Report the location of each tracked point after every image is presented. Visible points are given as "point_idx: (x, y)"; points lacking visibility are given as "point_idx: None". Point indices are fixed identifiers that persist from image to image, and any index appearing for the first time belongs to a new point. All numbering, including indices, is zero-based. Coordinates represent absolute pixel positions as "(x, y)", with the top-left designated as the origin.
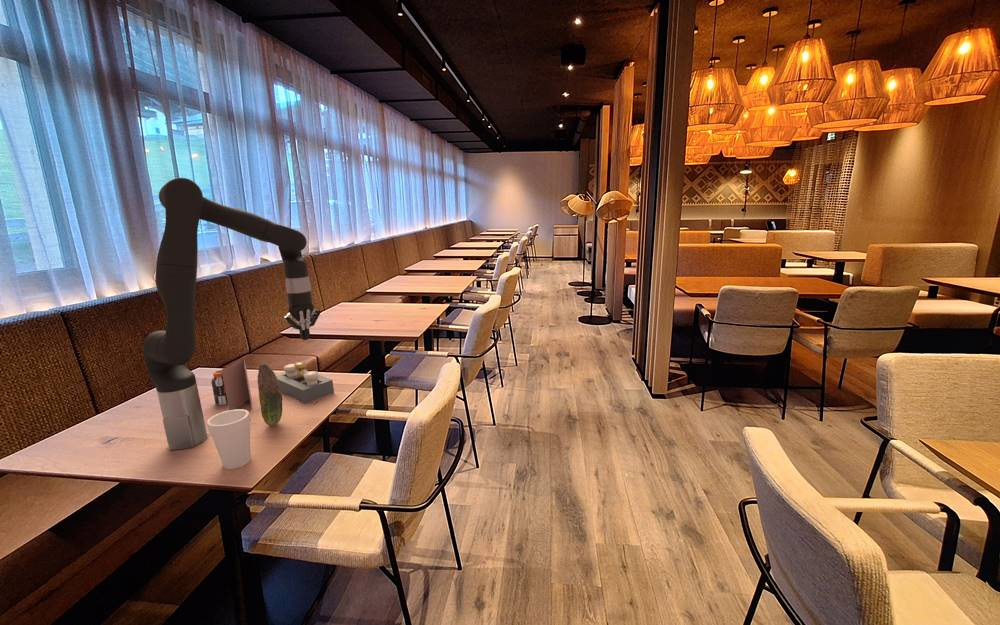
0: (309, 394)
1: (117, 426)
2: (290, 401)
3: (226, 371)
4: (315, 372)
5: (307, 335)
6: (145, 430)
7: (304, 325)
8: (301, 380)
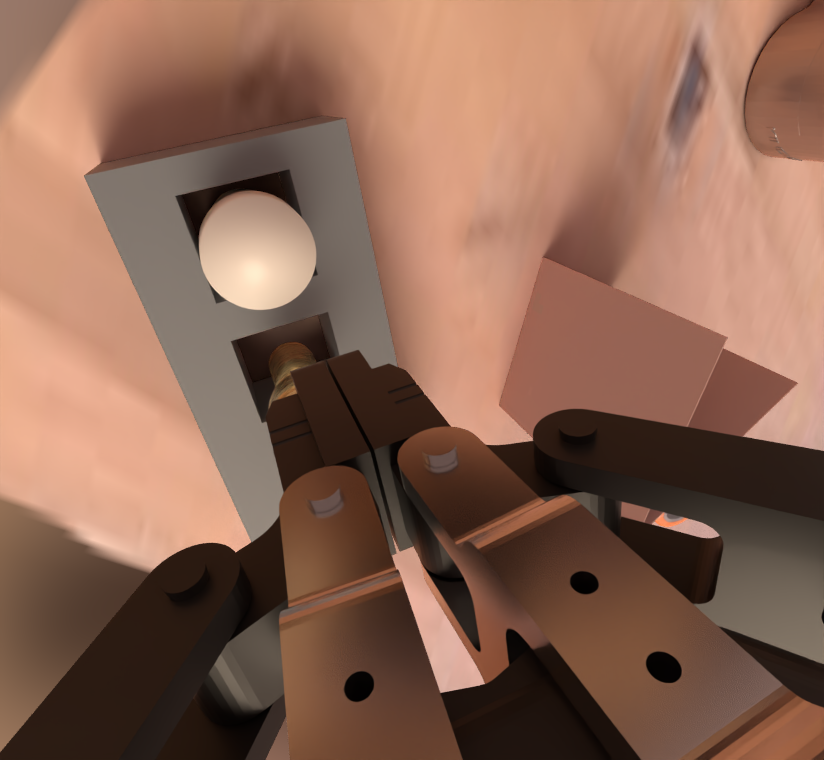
0: (294, 125)
1: (811, 401)
2: (380, 227)
3: (745, 397)
4: (219, 255)
5: (323, 390)
6: (799, 316)
7: (432, 503)
8: (301, 346)
